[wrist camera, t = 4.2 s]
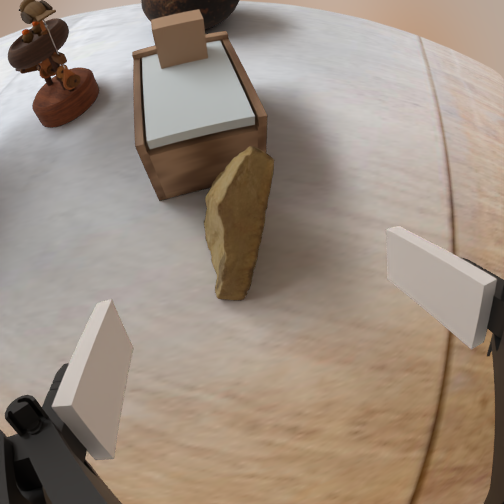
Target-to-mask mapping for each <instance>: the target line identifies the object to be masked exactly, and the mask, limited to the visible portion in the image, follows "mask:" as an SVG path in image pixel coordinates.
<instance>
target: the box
mask: <svg viewBox="0 0 504 504" xmlns="http://www.w3.org/2000/svg"><path fill="white" fill-rule="evenodd" d="M205 36H206V43H208V42H213V41H219V40H220V42H221V44H222V46H223V48H224V50H225V52H226V54H227V56H228V58H229V60H230V63H231V65H232V67H233V69H234V71H235V73H236V75H237V78H238V80H239V82H240V84H241V86H242V89H243V91H244V93H245V95H246V97H247V100H248V102H249V104H250V106H251V109H252V111H253V113H254V115H255V125H251V126H245V127H240V128H235V129H231V130H226V131H221V132H217V133H212V134H208V135H204V136H199V137H195V138H191V139H187V140H183V141H179V142H175V143H172V144H168V145H164V146H160V147H157V148H153V149H150V148H149V146H148V143H147V137H146V125H145V110H144V94H143V72H142V58H144V57H147V56H151V55H154V54H157V50H156V46H151V47H148V48H144V49H141V50H137V51H134V52H133V53H132V56H133V59H134V70H133V89H134V129H135V147H136V149H137V152H138V154H139V156H140V158H141V161H142V163H143V165H144V168H145V170H146V172H147V174H148V177H149V179H150V181H151V183H152V186H153V188H154V190H155V192H156V194H157V197H158V199H159V201H160V200H164V199H168V198H171V197H175V196H179V195H183V194H187V193H191V192H194V191H198V190H202V189H206V188H210V187H212V183H213V182H214V181H215V179H216V177H217V176H218V175H219V174H220V173H221V172H223V171H224V170H225V168H226V166H227V165H228V164H230V162H231V161H232V159H233V158H234V157H236V156H238V155H239V153H241V152H243V151H245V150H246V149H247V148H248V147H249V146H252V147H257V148H258V149H260V150H262V151H263V152H265V153H266V139H267V114H266V112H265V110H264V108H263V106H262V104H261V102H260V100H259V97H258V95H257V93H256V91H255V89H254V87H253V85H252V83H251V81H250V79H249V77H248V75H247V73H246V71H245V69H244V67H243V66H242V64H241V62H240V60H239V58H238V56H237V54H236V52H235V50H234V48H233V46H232V44H231V43H230V41H229V39H228V33H227V32H226V31H222V32H216V33H210V34H205Z"/></svg>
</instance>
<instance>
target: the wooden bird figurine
mask: <svg viewBox="0 0 504 504" xmlns="http://www.w3.org/2000/svg"><path fill="white" fill-rule="evenodd" d="M19 11H21V18H22V20H23V21H24V22H25V23H27V24H31V23H32V25H33V28H32V29H30V30H28V29H25V30H23V31H22V34H23V35H22V36H20V37H19V38H18V39H17V40H16V41H15V42H14V43H13V44H12V45H11V47H10V49H9V52H8V60H9V63H10V64H11V66H13V67H14V68H16V71H20V72H21V73H27V72H32V71H37V70H38V71H40V76H41V77H42V78H44V79H45V81H46V84H45V85H44V86H43V87H42V88H41V89H40V90H39V91H38V93H37V94H36V96H35V99H34V102H33V110H34V112H35V114H36V115H37V117H38V118H39V120H40V122H41V123H42V125H44V126H45V127H57V126H61V125H64V124H66V123H68V122H70V121H72V120H74V119H75V118H77V117H78V116H80V115H81V114H83V113H84V112H85V111H86V110H87V109H88V108H89V107H90V106H91V105H92V104H93V103H94V101H95V100H96V98H97V96H98V93H99V88H98V85H97V83H96V80H95V78H94V75H93V73H92V71H91V70H89V69H86V68H73V69H70V70H69V69H68V68H67V66H66V65H64V63H66V62H67V60H66V57H65V55H64V54H63V53H60V52H58V50H59V49H60V48H61V47H62V46H63V45H64V43H65V42H66V40H67V37H68V33H69V29H68V26H67V24H66V23H65V22H64V21H63V20H61V19H51V20H48V21H44V19H45V18H46V17H48V16H49V15H51V14H53V13H55V12H56V10H52V7H51V6H50V5H49V4H48V3H47V2H45V1H43V0H41V1H40V2H38V1H35V0H24V1H23V2H22V3H21V5H20V9H19ZM42 20H43V21H44V22H43V21H42ZM62 64H63V65H62ZM54 75H56V76H55V77H53V78H52V79H51V77H50V76H54Z"/></svg>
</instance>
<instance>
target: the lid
mask: <svg viewBox="0 0 504 504" xmlns="http://www.w3.org/2000/svg"><path fill="white" fill-rule="evenodd" d="M151 25H152V33H153V37H154V41H155V46H156V50H157V54H154V55H151V56H147V57H144V58H142V72H143V94H144V110H145V125H146V137H147V143H148V146H149V148H150V149H153V148H157V147H160V146H164V145H168V144H172V143H175V142H179V141H183V140H187V139H191V138H195V137H199V136H204V135H208V134H212V133H217V132H221V131H226V130H231V129H235V128H240V127H245V126H251V125H255V115H254V113H253V111H252V109H251V106H250V104H249V102H248V100H247V97H246V95H245V93H244V91H243V89H242V86H241V84H240V82H239V80H238V78H237V75H236V73H235V71H234V69H233V67H232V65H231V63H230V60H229V58H228V56H227V54H226V52H225V50H224V48H223V46H222V44H221V42H220V40H219V41H213V42H208V43H206V36H205V28H204V19H203V17H202V15H201V12H200V10H199V9H198V10H192V11H187V12H182V13H178V14H173V15H169V16H164V17H160V18H156V19H152V20H151Z"/></svg>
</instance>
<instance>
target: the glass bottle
mask: <svg viewBox="0 0 504 504" xmlns="http://www.w3.org/2000/svg"><path fill="white" fill-rule="evenodd" d="M238 2H239V0H142V9H143V11H144V13H145V15H146V16H147V18H148V19H149V20H150V21H151V20H152V19H156V18H160V17H164V16H169V15H173V14H178V13H182V12H187V11H192V10H198V9H199V10H200V12H201V15H202V17H203V19H204V28H205V29H208V28H211V27H213V26H215V25H217V24H219V23H221V22H222V21H224V20H225V19H226V18H227V17H229V16H230V14H231V13H232V12H233V11H234V9H235V8H236V6H237V4H238Z"/></svg>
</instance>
